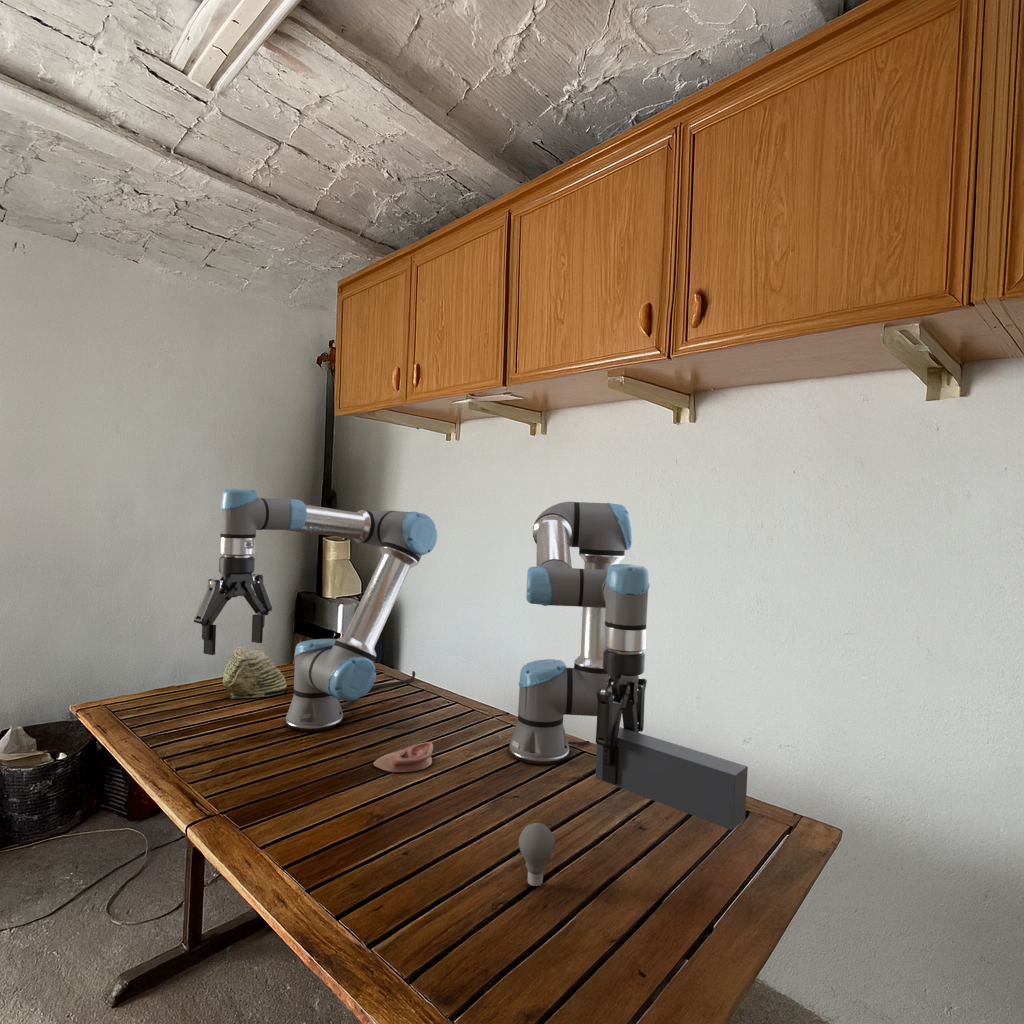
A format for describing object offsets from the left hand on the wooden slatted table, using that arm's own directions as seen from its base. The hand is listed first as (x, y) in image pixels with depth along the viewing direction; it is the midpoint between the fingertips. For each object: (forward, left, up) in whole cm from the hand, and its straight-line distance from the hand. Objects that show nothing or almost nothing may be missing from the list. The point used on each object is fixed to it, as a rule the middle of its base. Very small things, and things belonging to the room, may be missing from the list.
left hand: (234, 648), depth 146 cm
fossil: (-31, -44, -28) cm, 61 cm away
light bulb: (-12, +79, -28) cm, 84 cm away
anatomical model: (-29, +27, -28) cm, 48 cm away
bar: (-28, +94, -13) cm, 99 cm away
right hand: (-29, +85, -13) cm, 90 cm away
